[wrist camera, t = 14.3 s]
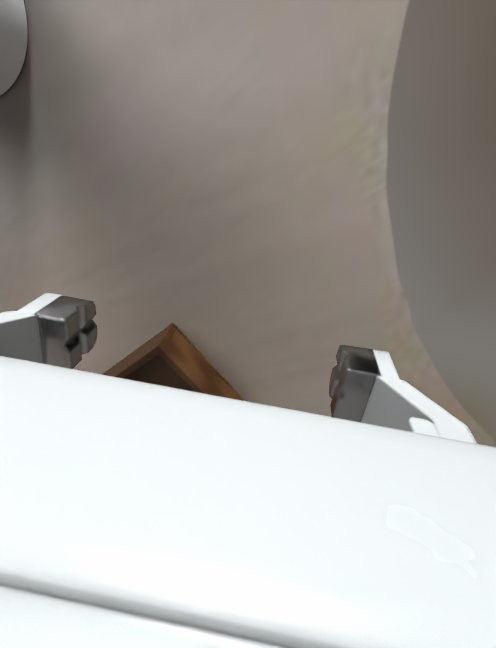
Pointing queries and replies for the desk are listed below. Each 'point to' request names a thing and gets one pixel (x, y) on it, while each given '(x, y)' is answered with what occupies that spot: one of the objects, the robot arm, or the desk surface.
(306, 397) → the desk surface
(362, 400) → the robot arm
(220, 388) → the wooden box
